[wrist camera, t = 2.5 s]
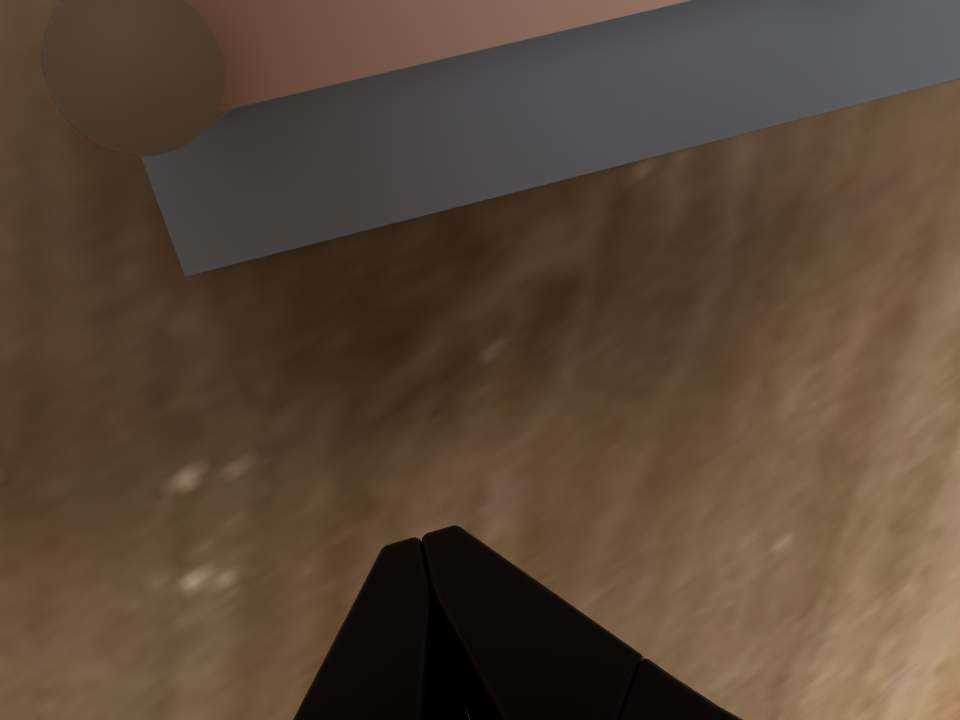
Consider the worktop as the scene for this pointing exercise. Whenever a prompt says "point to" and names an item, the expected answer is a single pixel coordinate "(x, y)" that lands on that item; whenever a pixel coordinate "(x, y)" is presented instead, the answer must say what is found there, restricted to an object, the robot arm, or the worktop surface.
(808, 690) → the worktop surface
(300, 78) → the terracotta panel
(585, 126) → the mat
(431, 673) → the robot arm
